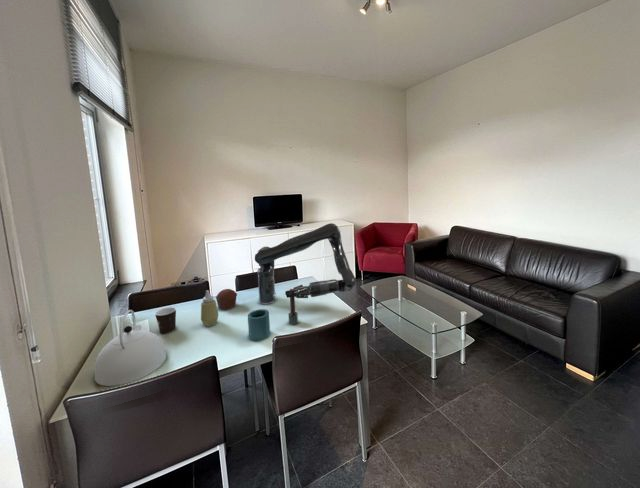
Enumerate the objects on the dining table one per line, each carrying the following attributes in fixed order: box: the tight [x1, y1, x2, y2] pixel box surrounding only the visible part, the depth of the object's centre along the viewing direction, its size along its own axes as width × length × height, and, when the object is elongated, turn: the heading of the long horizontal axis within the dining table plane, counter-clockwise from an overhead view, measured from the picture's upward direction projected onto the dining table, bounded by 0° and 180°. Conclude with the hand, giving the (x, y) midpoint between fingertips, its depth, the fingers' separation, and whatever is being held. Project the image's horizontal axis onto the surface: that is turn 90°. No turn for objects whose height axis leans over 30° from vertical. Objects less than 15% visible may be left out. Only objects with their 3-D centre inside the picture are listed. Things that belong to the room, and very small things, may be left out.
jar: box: [247, 308, 271, 342], centre depth 142 cm, size 9×9×11 cm
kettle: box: [94, 309, 167, 387], centre depth 121 cm, size 25×23×22 cm
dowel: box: [288, 288, 299, 326], centre depth 153 cm, size 5×5×18 cm
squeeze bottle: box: [200, 289, 219, 327], centre depth 153 cm, size 8×8×18 cm
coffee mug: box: [154, 306, 177, 335], centre depth 147 cm, size 12×9×10 cm
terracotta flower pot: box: [215, 288, 238, 311], centre depth 173 cm, size 12×11×10 cm
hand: (286, 294), depth 151 cm, fingers closed on dowel, 2 cm apart
